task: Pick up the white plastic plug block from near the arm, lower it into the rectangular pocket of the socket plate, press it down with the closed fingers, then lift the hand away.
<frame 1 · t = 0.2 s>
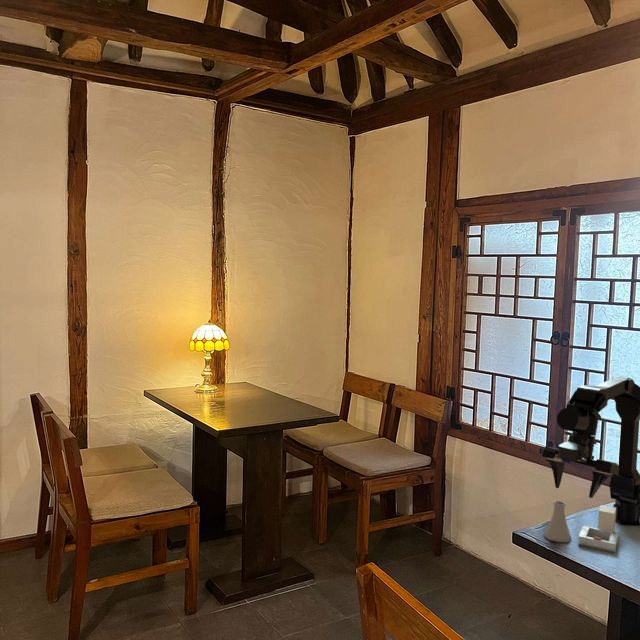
hand: (573, 492, 169), 15 cm above the table, tool pointing down, fingers open, 9 cm apart
socket: (598, 543, 174), on the table
plug: (606, 533, 182), on the table
flask: (557, 538, 177), on the table
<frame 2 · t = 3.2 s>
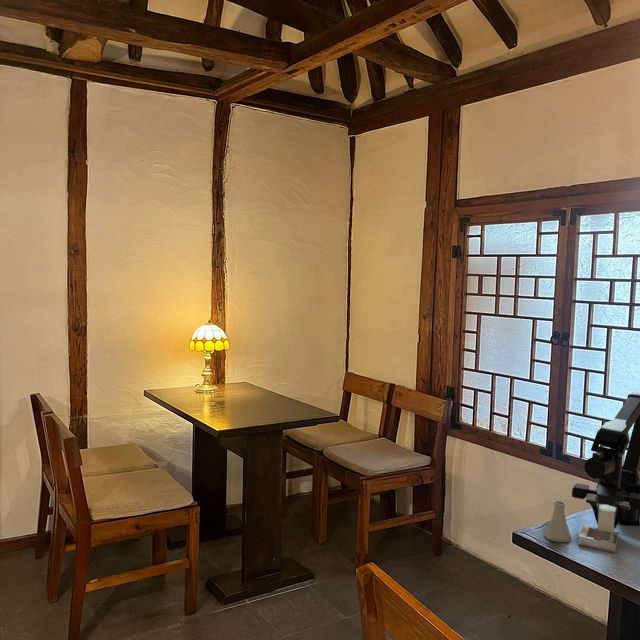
hand: (606, 526, 182), 2 cm above the table, tool pointing down, fingers closed on plug, 4 cm apart
plug: (606, 533, 182), on the table, touching gripper
everything else where it was.
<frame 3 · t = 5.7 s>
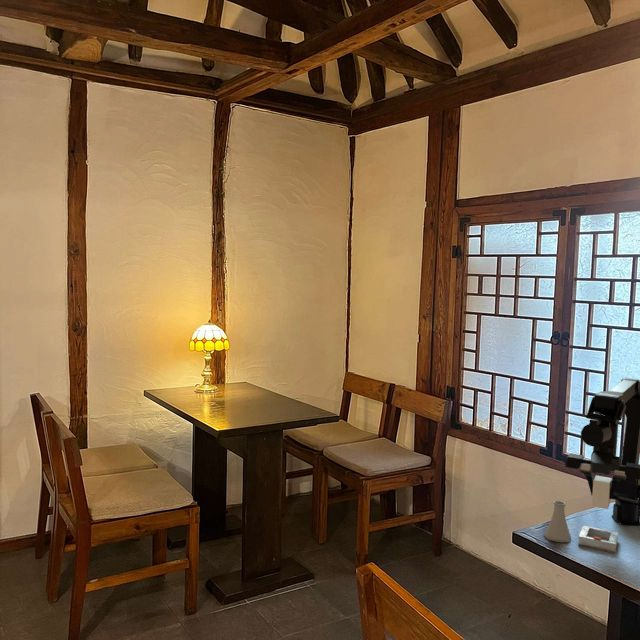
hand: (601, 497, 174), 13 cm above the table, tool pointing down, fingers closed on plug, 4 cm apart
plug: (600, 504, 174), point 11 cm above the table, touching gripper
everything else where it was.
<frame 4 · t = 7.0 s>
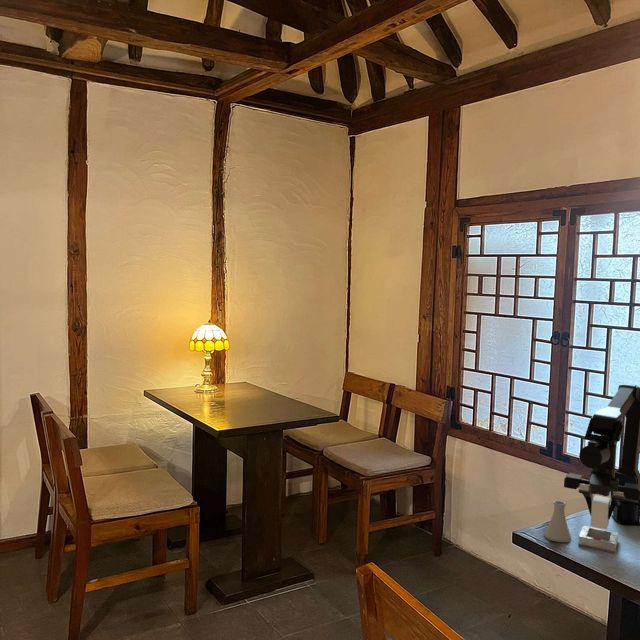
hand: (600, 517, 174), 7 cm above the table, tool pointing down, fingers closed on plug, 4 cm apart
plug: (599, 524, 174), point 5 cm above the table, touching gripper
everything else where it was.
when the fingers open (3 cm above the table, at t = 8.2 s): plug stays where it is, resting on socket.
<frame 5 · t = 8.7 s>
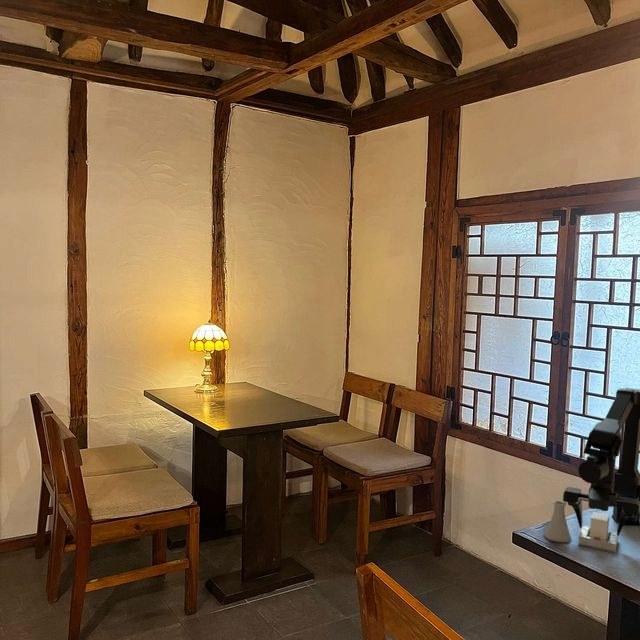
hand: (599, 531, 174), 3 cm above the table, tool pointing down, fingers open, 9 cm apart
plug: (598, 541, 174), resting on socket
everything else where it was.
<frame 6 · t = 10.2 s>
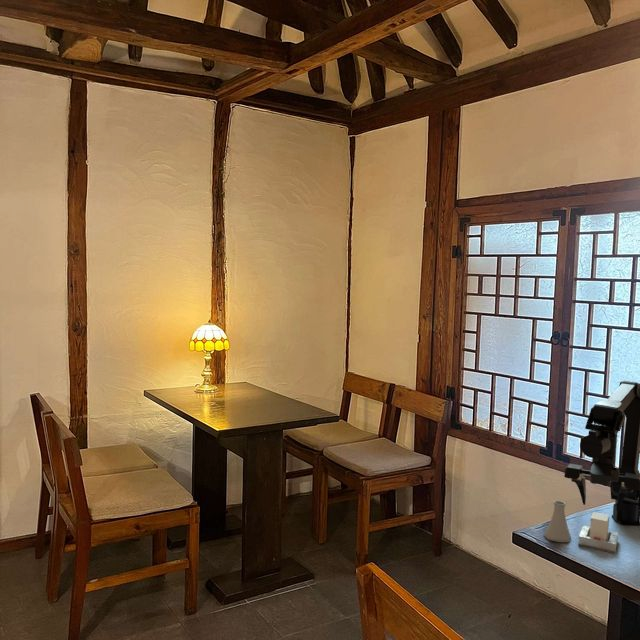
hand: (600, 507, 174), 10 cm above the table, tool pointing down, fingers open, 8 cm apart
nothing on the table moved.
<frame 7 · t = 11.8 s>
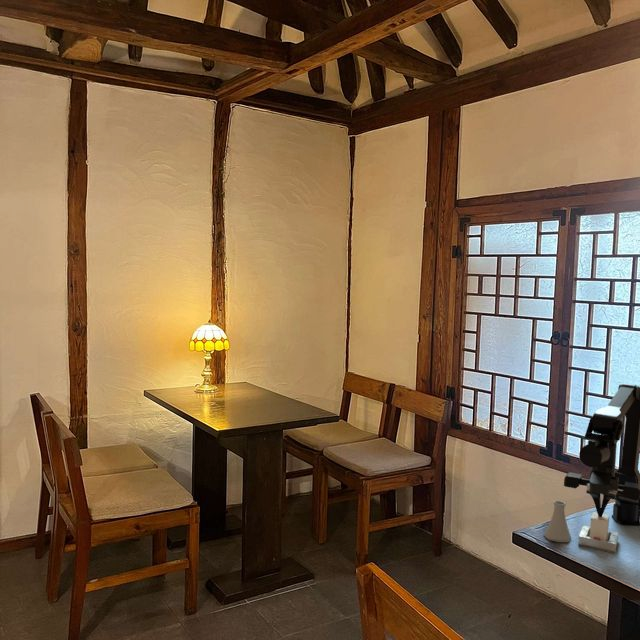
hand: (600, 516, 174), 7 cm above the table, tool pointing down, fingers closed, pressing on plug
plug: (598, 541, 174), resting on socket, touching gripper
everything else where it was.
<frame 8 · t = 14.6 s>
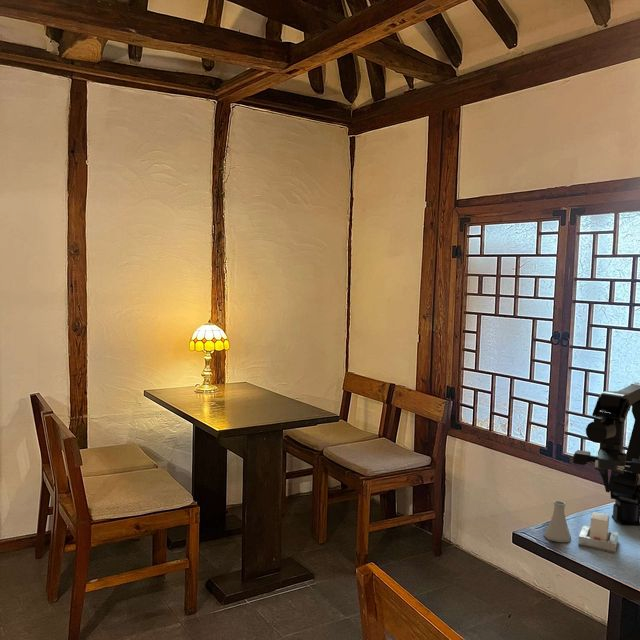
hand: (607, 492, 180), 12 cm above the table, tool pointing down, fingers closed
plug: (598, 541, 174), resting on socket
everything else where it was.
at the end: plug 0.0 cm off-centre on the socket, point 0.5 cm above the socket's base; plug tilted 0°; the gripper is holding nothing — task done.
